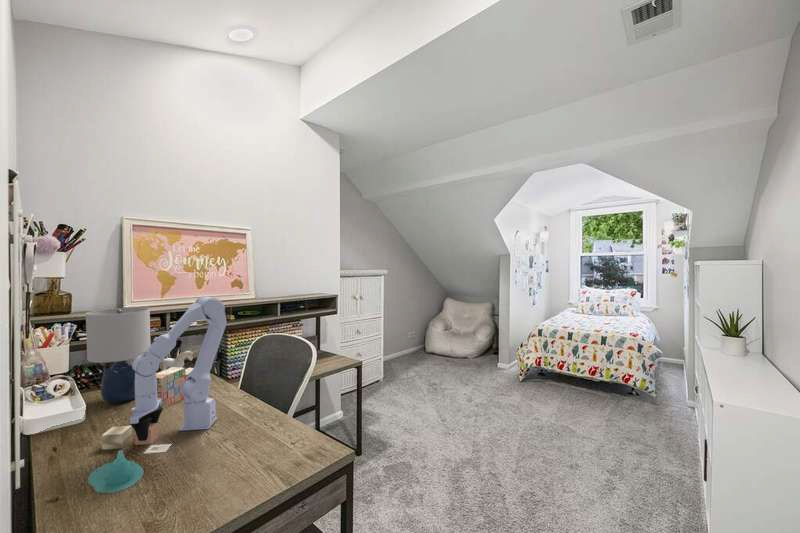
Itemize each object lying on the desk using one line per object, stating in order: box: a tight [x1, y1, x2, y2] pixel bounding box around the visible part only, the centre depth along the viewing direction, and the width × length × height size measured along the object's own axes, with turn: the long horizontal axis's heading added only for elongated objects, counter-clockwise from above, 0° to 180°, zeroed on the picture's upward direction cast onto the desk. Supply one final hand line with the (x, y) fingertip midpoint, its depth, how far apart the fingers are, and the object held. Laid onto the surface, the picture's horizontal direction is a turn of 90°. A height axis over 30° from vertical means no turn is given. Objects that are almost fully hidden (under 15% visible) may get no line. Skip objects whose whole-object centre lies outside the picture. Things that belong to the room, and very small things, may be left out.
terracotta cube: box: [134, 422, 160, 446], centre depth 116 cm, size 4×4×4 cm
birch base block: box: [101, 425, 133, 450], centre depth 114 cm, size 6×6×4 cm
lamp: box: [85, 306, 152, 404], centre depth 149 cm, size 20×20×37 cm
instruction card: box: [142, 443, 173, 455], centre depth 111 cm, size 6×4×1 cm
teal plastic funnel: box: [87, 449, 145, 494], centre depth 98 cm, size 12×20×9 cm, turn 51°
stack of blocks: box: [156, 367, 194, 409], centre depth 151 cm, size 21×6×12 cm, turn 168°
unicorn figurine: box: [159, 348, 201, 372], centre depth 175 cm, size 7×20×13 cm, turn 91°
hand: (147, 436), depth 116 cm, fingers closed on terracotta cube, 4 cm apart
